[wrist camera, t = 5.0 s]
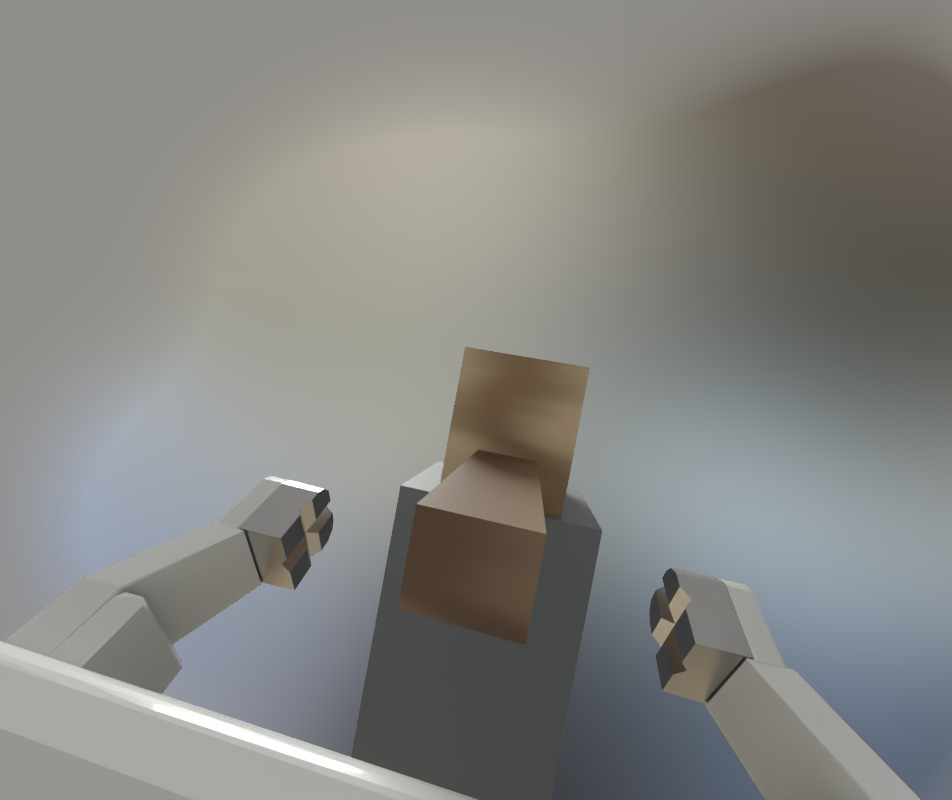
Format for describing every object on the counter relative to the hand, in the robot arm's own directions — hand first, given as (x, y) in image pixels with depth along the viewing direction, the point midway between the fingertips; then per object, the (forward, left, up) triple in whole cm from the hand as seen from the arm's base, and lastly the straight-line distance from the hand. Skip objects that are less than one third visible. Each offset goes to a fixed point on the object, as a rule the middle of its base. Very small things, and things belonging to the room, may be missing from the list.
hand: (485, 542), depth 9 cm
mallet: (0, -5, -1) cm, 5 cm away
